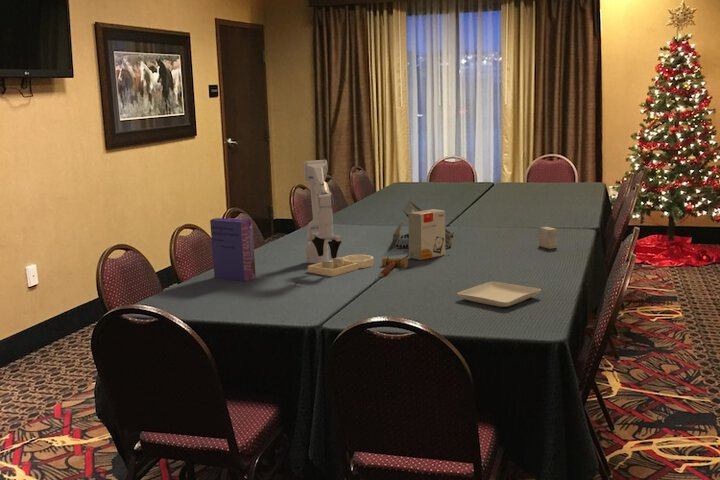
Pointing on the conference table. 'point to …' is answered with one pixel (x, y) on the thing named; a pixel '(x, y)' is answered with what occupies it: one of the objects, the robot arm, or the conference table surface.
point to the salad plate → (498, 294)
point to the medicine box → (548, 237)
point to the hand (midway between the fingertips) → (327, 257)
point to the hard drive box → (426, 234)
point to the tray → (333, 272)
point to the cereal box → (233, 249)
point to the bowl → (360, 260)
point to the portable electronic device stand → (397, 234)
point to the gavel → (392, 264)
